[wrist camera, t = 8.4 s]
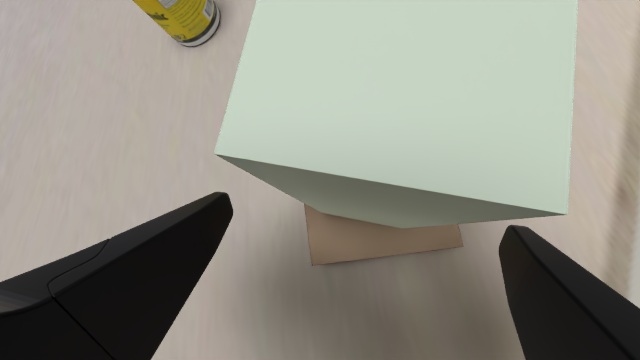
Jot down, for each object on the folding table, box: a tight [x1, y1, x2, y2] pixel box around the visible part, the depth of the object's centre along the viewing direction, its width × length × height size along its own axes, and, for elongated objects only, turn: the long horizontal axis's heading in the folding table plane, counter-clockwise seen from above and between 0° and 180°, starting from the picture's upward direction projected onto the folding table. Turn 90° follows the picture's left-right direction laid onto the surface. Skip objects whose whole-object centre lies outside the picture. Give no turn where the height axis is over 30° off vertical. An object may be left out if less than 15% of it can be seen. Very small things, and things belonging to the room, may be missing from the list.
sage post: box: [214, 0, 578, 229], centre depth 11 cm, size 5×5×13 cm
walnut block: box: [304, 203, 464, 266], centre depth 18 cm, size 9×9×3 cm
